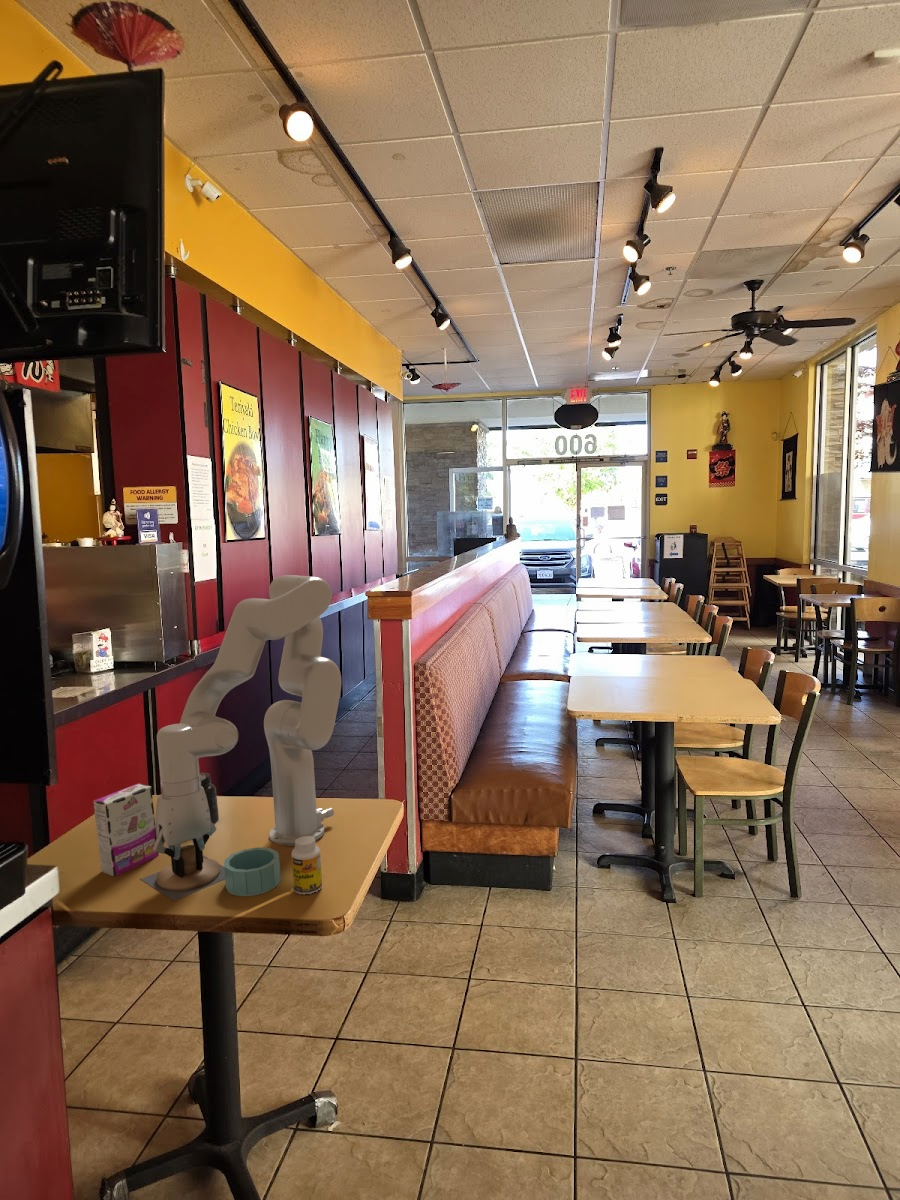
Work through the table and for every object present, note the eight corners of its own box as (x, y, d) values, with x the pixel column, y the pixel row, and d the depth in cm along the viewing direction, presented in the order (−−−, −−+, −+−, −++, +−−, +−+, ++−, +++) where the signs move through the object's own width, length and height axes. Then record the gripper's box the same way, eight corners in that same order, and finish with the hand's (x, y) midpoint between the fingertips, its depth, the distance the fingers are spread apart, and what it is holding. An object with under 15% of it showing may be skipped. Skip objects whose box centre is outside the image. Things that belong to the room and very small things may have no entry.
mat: (202, 857, 170) (202, 854, 170) (237, 876, 160) (237, 873, 160) (140, 881, 160) (140, 879, 160) (173, 903, 150) (173, 900, 150)
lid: (200, 857, 169) (198, 830, 168) (231, 873, 160) (229, 845, 160) (145, 878, 160) (143, 851, 159) (175, 897, 151) (172, 868, 151)
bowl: (261, 868, 164) (259, 843, 163) (291, 883, 157) (289, 857, 156) (216, 887, 156) (214, 861, 155) (245, 904, 149) (243, 877, 148)
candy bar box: (145, 853, 173) (138, 782, 171) (159, 857, 171) (153, 785, 169) (99, 874, 164) (92, 799, 162) (114, 879, 161) (106, 803, 159)
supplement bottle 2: (289, 895, 152) (286, 845, 150) (299, 881, 157) (296, 833, 156) (317, 896, 151) (313, 846, 149) (326, 883, 156) (322, 834, 155)
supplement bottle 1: (207, 815, 194) (203, 769, 192) (224, 821, 190) (221, 773, 188) (183, 825, 188) (179, 777, 187) (201, 831, 184) (197, 782, 183)
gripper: (208, 770, 166) (215, 852, 168) (132, 793, 154) (141, 881, 157) (227, 778, 161) (233, 862, 163) (150, 802, 149) (158, 892, 151)
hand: (188, 870), depth 160 cm, fingers closed on lid, 3 cm apart
